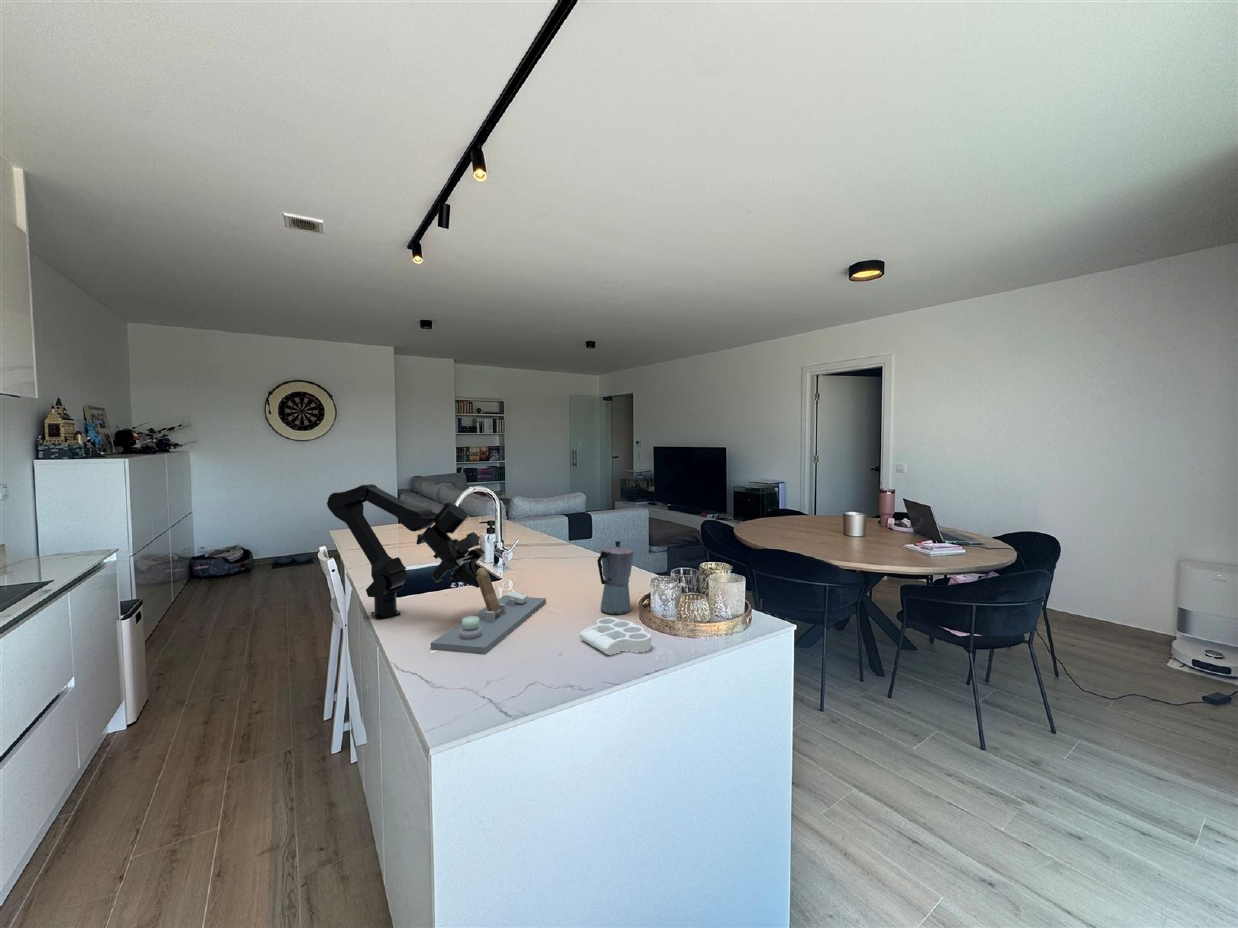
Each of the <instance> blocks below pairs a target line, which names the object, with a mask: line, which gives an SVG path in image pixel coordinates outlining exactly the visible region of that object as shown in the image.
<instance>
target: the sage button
mask: <svg viewBox="0 0 1238 928" xmlns="http://www.w3.org/2000/svg"><path fill="white" fill-rule="evenodd" d="M461 623H462V628H464V629H474V628H477V627H479V617H477V616H473V615H470V616H464V617H463V618H462V619H461Z"/></svg>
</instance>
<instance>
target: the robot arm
mask: <svg viewBox="0 0 1238 928" xmlns="http://www.w3.org/2000/svg"><path fill="white" fill-rule="evenodd" d="M366 502H368V503H370V504H372V505H374V506H376V507H377V508H379V509H381V510H383V511H385V512H386V513H389V514H391V515H392V516H394V517H396V518H397V519H398V521H399V523H400V525H402V526H403V527H405V528H406V529H407V530H408V531H410V532H419V531H422V530H424V531H423V533H419V534H417V536H416V537H417V538H416V545H422V544H426V545H427V546H428V547H429V549H431V550H432V552H433V553H435V554H434V555H433V558H434V559H435V560H437V559H440V560H441V561H440V563H439V564H438V565H437V566H436V567H435V568H434V569H433V571H432V572H431V578H432V580H433V581H435V583H440V582H441V581H443V580H444V575H446V573H448V572H451V575H450V577H449V579H450V580H452V579H453V580H456V581H458V582H462V583H464V584H467V585H468V586H469V585H470V586H471V587H474V588H477V589H478V588H479V589H480V587H479V584H478V581H477V578H476V577H478V576H477V570H476V568H475V565H476V563H477V562H478V561H479V560H480V559H481V558H482V556H483V555H484V554H485V550H483V549H482V548H481V547H478V546H479V545H481V544H480V539H481V536H480V535H478V534H477V533H475V532H474V531H473V532H470V533H468V534H467V535H466V537H464V538H462V539H460V540H459V539H457V538H454V539H453V538H452V537H450V535H449V534H454V533H455V532H456V531H457V530H458V529H459V528H460V527H461V525H462V524H463V523H464V522H465V521H466V520H467V519H468V515H467V512H466V510H464V509H463V508H462V507H460V506H457V505H455V504H453V502H452V501H451V502H450V501H449V502H446V503H445V504H444V505H443V507H442V508H441V510H439V511H438V512H433V510H432V509H430V508H428V507H424V506H422V505H416V504H411V503H408V502H405V501H404V500H402V499H400V498H398V497H396V496H394V495H392V494H391V493H389V492H387V491H385V490H384V489H381V488H379V487H378V486H376V485H375V484H371V483H370V484H361V485H359V486H357V487H354V488H351V489H349V490H345V491H338V492H332V493H331V494H330V495H329V496H328V498H327V502H326V505H327V509H329V511H330V512H331V514H333V516H334V517H335V518H337V519H338V520H339V521H342V522H343V523H345V524H346V526H347V527H348V529H349V531H350V532H351V534H352V535H353V537H354V539H355V540H356V542H357V544H358V545H359V547H360V548H361V550H362V552H363V553H364V556H365V557H366V558H367V560H368V562H369V563H370V566H371V570H370V571H371V573H370V575H371V578H372V582H371V583H370V585H369V586H367V588H366V589H365V592H366V594H367V597H368V598H373V601H374V602H373V605H374V611H371V612H370V615H371V614H372V615H371V616H372V617H373V618H374V619H375V620H382V619H385V618H391V617H396V616H401V611H399V610H398V609H397V608H398V607H397V606H398V605H397V592H398V591H400V590H403V587H404V585H405V582H406V581H407V577H408V573H407V571H406V570H407V567H406V566H405V565H404V564H403V563H402V562H403V561H402V559H401V558H400V557H399V556H398V557H395V558H393V557H391V556H390V555H389V554H388V553H387V551H386V549H385V548H384V546H383V544H382V543H381V541H380V539H379V538H378V536H377V534H376V533H375V531H374V530H373V529H372V527H371V525H370V523H369V522H368V521H367V519H366V517H365V515H364V503H366Z"/></svg>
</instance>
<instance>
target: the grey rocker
mask: <svg viewBox="0 0 1238 928" xmlns="http://www.w3.org/2000/svg"><path fill="white" fill-rule="evenodd" d="M520 593H521V592H515V591H512V590H511V591H508V592H506V593H505V594H504V596H505V600H509V599H510V598H512V599H515V602H517V603H521V604H522V603H524V602H525V601H526V600H527V597H529V596H528V594H524V593H523V594H520Z"/></svg>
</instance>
